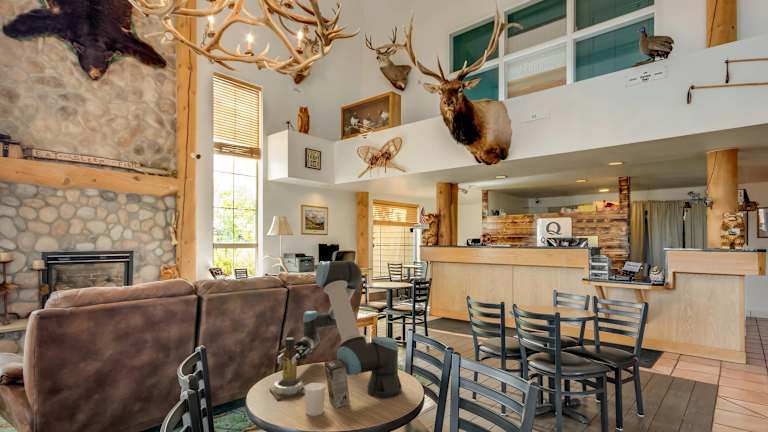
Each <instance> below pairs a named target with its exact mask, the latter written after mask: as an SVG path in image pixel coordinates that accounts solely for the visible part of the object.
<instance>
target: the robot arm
mask: <svg viewBox="0 0 768 432" xmlns="http://www.w3.org/2000/svg"><path fill="white" fill-rule="evenodd" d="M362 281H363V272H362V269H361V267H360V266H359V265H358V264H357V263H356V262H354V261H351V260H337V261H336V260H335V261H330V260H328V261H322V262H320V263H318V266H317V268H316V272H315V283H316V285H317V287H320V288H323V292H324V293H325V294H327V295H328V298H329V299H328V300H329V302H330V307H329V310H328V311H327V312H326V313H318V311H317V310H307V311H305V312H304V313H303V317H302V318H303V321H302V324H303V327H302V330H303V333H302V335H303V336H302V338H301V339H299V340H298V341H296V343H294V349H295V351H296V355H295V356H294V357H293V358H292V364H294V363H295V362H297V361H300V360H302V359H303V360H306V359H307V358H308V357H310V356H311V354H313V349H314V348H316V347H317V346H318V344H319V343H320V340H321V338H320V335H319V334H318V332H319V331H318V330H319V329H324V328H333V327H337V330H338V332H339V333H338V334H339V337H340V344H339V346H338V347H339V348H338V350H337V351H336V352H337V353H336V357H337V358H336V359H339V360H340V361H341V362H343V363H344V364H345V365H346V373H347V376H353V375H359V374H364V373H368V372H371V373H370V377H369V380H368V383H367V386H366V387H367V389H366V390H367V393H368V395H370V396H372V397H374V398H377V399H378V398H379V399H389V398H395V396H396V397H398V396H400V395H401V394H402V389H403V387H402V383H401V380H400V376H399V372H398V370H399V367H398V366H399V359H398V358H399V355H398V354H399V347H398V346H399V344H398V342H397V340H395V339H394V338H391V337H386V336H373V337H372V338H371V340H370V342H367V339H366V337H365V336H363V335H362V334H361V332H360V329H359V325H358V322H357V320H356V316H355V313H354V310H353V306H352V304H351V299H352V297H353V295H354V293H355V291H356V290H357V289H358V288H359V287H360V286H361V283H362ZM285 349H286V347H285V348H283V349H282V350H280V351H278V356H277V364H280V363H282V362H283V353H284V351H285ZM399 394H400V395H399Z"/></svg>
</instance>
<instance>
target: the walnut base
mask: <svg viewBox="0 0 768 432" xmlns="http://www.w3.org/2000/svg"><path fill="white" fill-rule="evenodd" d="M287 387H290V386H287ZM269 391H270V393H271V394H272V395H273V397H274V398H275V399H276V401H279V402H280V401H283V400H288V399H294V398H297V397H303V396H305V387H304V386H302V390H301V392H299V393H297V394H293V395H279V394H276V393H275V392H274V386H271V387H269Z"/></svg>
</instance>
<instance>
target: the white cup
mask: <svg viewBox="0 0 768 432" xmlns="http://www.w3.org/2000/svg"><path fill="white" fill-rule="evenodd" d="M304 389H305V395H304V401H305V402H304V404H305V414H306V415H307V416H312V417H316V416H320V415H322V414H323V413H324V407H325V406H324V404H325V396H326V395H325V392H326V385H325V384H324V383H322V382H311V383H308V384H306V385H304Z"/></svg>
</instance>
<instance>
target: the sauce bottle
mask: <svg viewBox="0 0 768 432" xmlns="http://www.w3.org/2000/svg"><path fill="white" fill-rule="evenodd" d="M294 346H295V337H290V336H289V337H286V338H285V348H286V349H285V348H284V349H285V351H284V353H283V361H282V379H286V378H296V379H297V370H298V369H297V365H298V364H297V362H295V363H294V364H292V358H293V357H294V356H295V355H296V351H295V349H294Z"/></svg>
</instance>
